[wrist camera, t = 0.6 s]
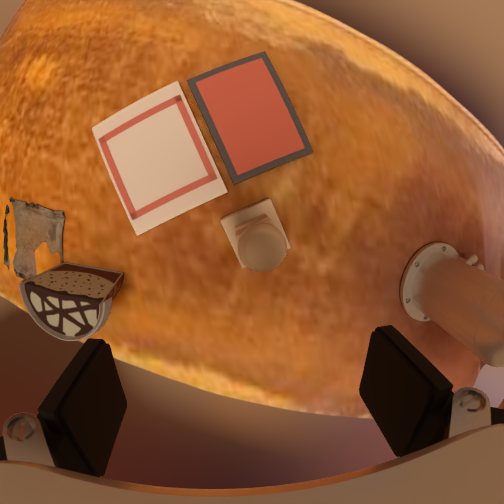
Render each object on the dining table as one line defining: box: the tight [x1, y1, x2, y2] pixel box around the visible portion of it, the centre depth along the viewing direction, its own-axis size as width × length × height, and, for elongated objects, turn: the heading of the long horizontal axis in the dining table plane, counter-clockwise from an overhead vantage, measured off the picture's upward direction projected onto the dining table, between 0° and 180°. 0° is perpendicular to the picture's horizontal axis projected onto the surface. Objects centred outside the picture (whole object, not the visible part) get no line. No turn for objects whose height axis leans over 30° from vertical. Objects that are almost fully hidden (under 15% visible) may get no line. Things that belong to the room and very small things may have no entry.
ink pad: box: [187, 52, 313, 184], centre depth 31 cm, size 10×14×1 cm
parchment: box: [3, 197, 65, 280], centre depth 33 cm, size 12×13×1 cm
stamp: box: [220, 198, 291, 272], centre depth 30 cm, size 6×6×11 cm
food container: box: [19, 262, 124, 341], centre depth 30 cm, size 12×6×10 cm, turn 81°
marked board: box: [92, 81, 228, 236], centre depth 31 cm, size 12×15×1 cm
